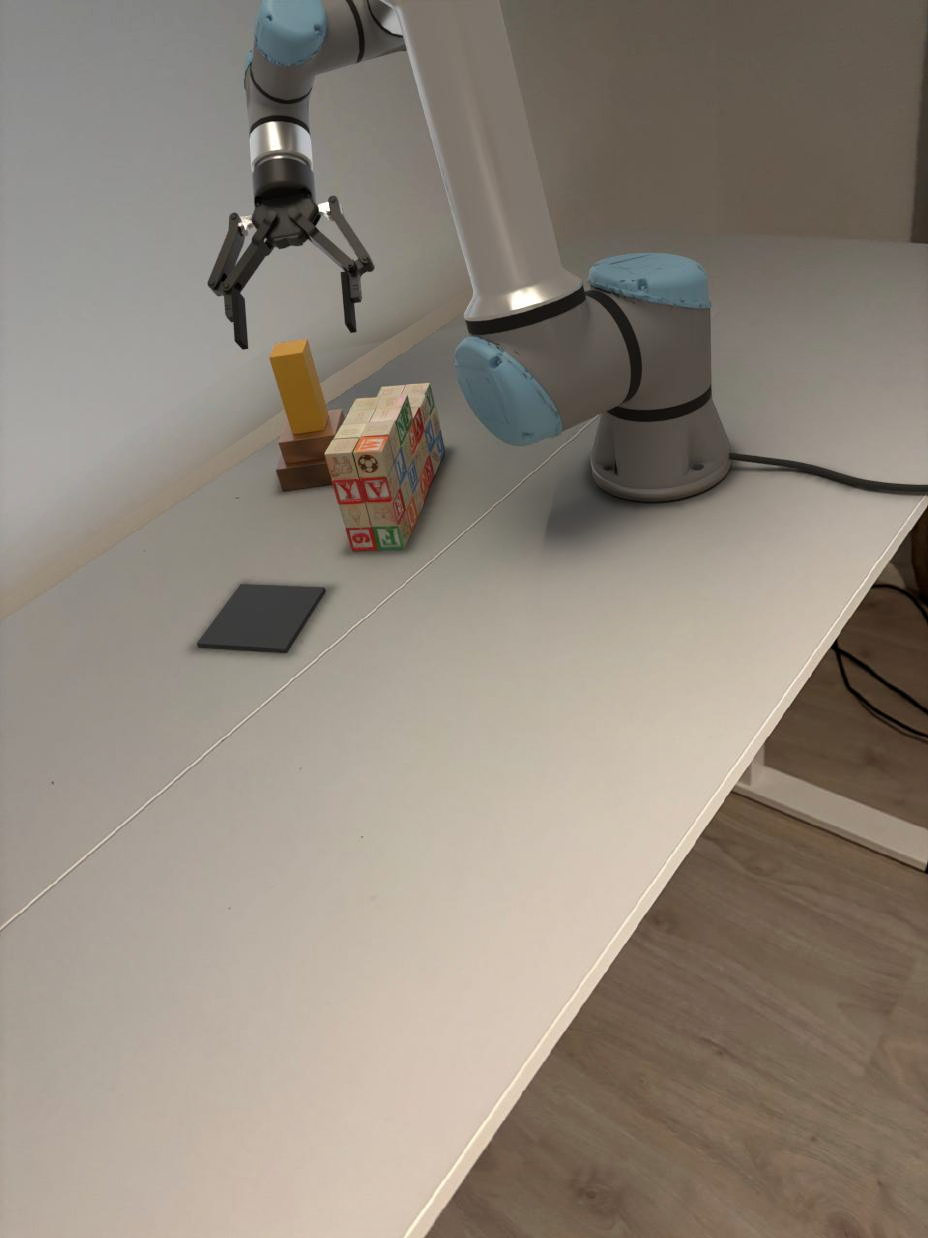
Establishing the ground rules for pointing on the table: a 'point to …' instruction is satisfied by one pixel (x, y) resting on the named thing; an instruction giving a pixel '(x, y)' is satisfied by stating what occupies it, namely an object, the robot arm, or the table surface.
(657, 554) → the table surface
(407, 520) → the stack of blocks
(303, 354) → the bar
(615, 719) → the table surface
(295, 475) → the dark wooden step block
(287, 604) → the mat
